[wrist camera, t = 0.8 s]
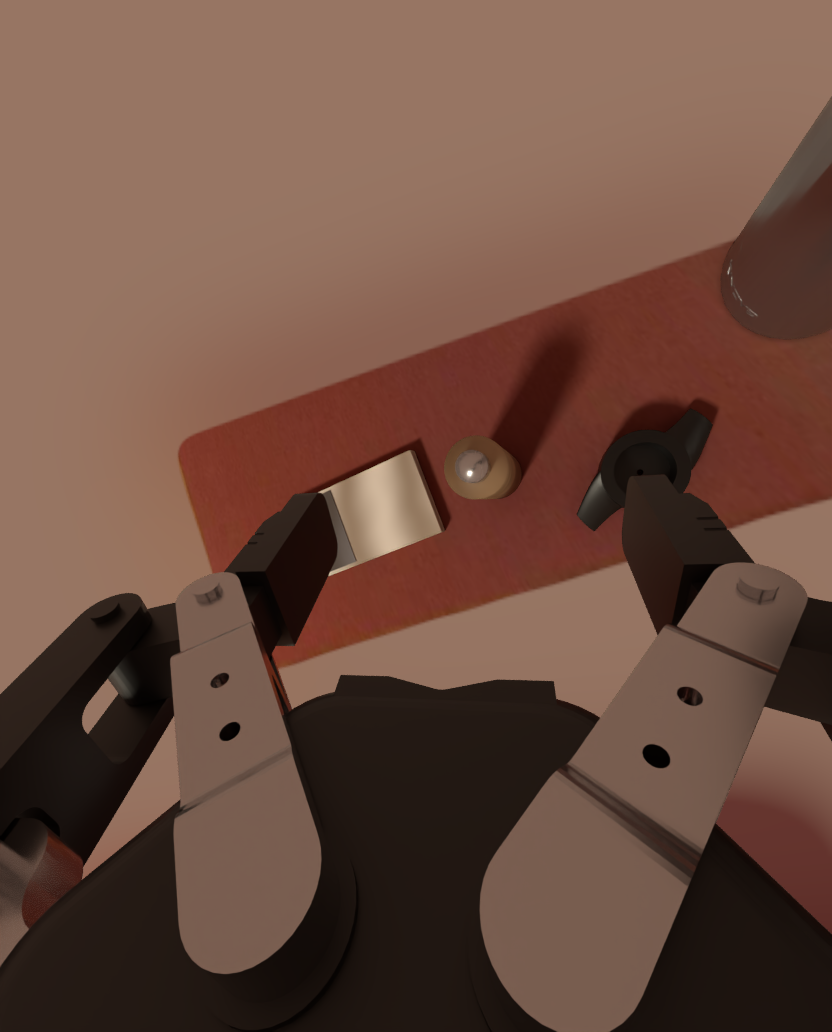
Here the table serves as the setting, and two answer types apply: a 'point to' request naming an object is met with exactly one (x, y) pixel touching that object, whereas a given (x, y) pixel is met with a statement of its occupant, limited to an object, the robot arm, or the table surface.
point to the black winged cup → (644, 464)
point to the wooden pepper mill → (481, 469)
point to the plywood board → (381, 511)
